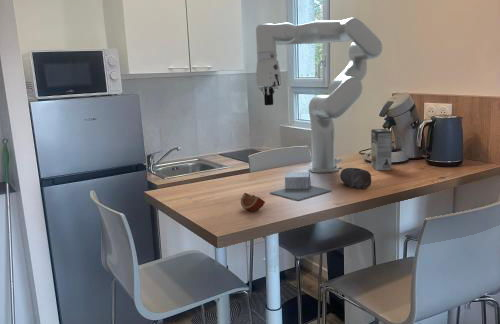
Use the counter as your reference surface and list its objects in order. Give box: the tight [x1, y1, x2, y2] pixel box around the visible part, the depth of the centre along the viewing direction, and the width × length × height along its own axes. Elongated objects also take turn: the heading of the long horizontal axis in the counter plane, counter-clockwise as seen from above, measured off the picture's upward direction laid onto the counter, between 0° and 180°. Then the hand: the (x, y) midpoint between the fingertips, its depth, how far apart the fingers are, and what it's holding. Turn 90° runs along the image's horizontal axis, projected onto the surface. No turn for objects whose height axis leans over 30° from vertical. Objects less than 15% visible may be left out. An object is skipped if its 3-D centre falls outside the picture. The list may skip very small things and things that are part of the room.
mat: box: [269, 185, 332, 202], centre depth 150 cm, size 16×14×1 cm
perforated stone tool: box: [339, 167, 372, 190], centre depth 153 cm, size 15×5×7 cm, turn 22°
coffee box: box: [370, 128, 393, 171], centre depth 180 cm, size 9×6×16 cm
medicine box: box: [284, 171, 311, 189], centre depth 156 cm, size 8×4×9 cm
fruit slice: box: [240, 192, 266, 212], centre depth 132 cm, size 8×7×5 cm
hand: (268, 104), depth 171 cm, fingers closed
